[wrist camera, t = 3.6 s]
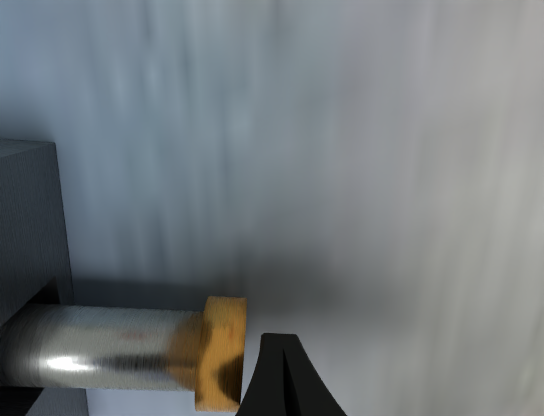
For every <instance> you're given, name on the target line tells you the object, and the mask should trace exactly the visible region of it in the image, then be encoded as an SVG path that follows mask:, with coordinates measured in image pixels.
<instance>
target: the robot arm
mask: <svg viewBox="0 0 544 416" xmlns="http://www.w3.org/2000/svg"><path fill="white" fill-rule="evenodd" d="M235 416H347V415H346V414H345V412H344V411H343V410H342V409H341V407H340V406H339V405H338V403H337V402H336V400H335V399H334V398H333V396H332V395H331V393H330V392H329V390H328V389H327V387H326V386H325V384H324V383H323V381H322V380H321V378H320V376H319V375H318V373H317V372H316V370H315V368H314V367H313V365H312V363H311V361H310V360H309V358H308V356H307V354H306V352H305V350H304V348H303V346H302V344H301V342H300V340H299V338H298V336H297V335H296V334H277V333H264V334H262V335H261V343H260V352H259V357H258V361H257V364H256V367H255V370H254V373H253V376H252V379H251V382H250V384H249V387H248V389H247V392H246V394H245V396H244V399H243V401H242V403H241V405H240V407H239V409H238V411H237V413H236V415H235Z"/></svg>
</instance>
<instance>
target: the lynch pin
mask: <svg viewBox="0 0 544 416" xmlns="http://www.w3.org/2000/svg"><path fill="white" fill-rule="evenodd" d="M246 308H247V298H237V297H217V296H208V298H207V301H206V305H205V309H204V312H203V311H181V310H160V309H139V308H117V307H96V306H74V305H53V304H32V303H25V304H24V305H23V306H22V307H21V308H20V309H19V310H18V311H17V312H16V313H15V314H14V315H13V316H11V317H10V318H9V319H8V320H7V321H6V322H5V323H4V324H3V325H2V326H1V327H0V386H19V387H53V388H88V389H122V390H157V391H191V392H195V409H196V411H207V412H237V411H238V409H239V407H240V402H241V389H242V376H243V361H244V345H245V328H246Z"/></svg>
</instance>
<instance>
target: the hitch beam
mask: <svg viewBox="0 0 544 416" xmlns="http://www.w3.org/2000/svg"><path fill="white" fill-rule="evenodd" d="M25 303H32V304H53V305H74V306H75V303H74V295H73V287H72V279H71V271H70V263H69V255H68V247H67V239H66V230H65V222H64V214H63V206H62V198H61V190H60V182H59V174H58V166H57V157H56V149H55V143H46V142H34V141H22V140H9V139H0V327H1V326H2V325H3V324H4V323H5V322H6V321H7V320H8V319H9V318H10V317H11V316H13V315H14V314H15V313H16V312H17V311H18V310H19V309H20V308H21V307H22V306H23V305H24V304H25ZM0 416H88V409H87V401H86V393H85V388H53V387H19V386H0Z"/></svg>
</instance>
